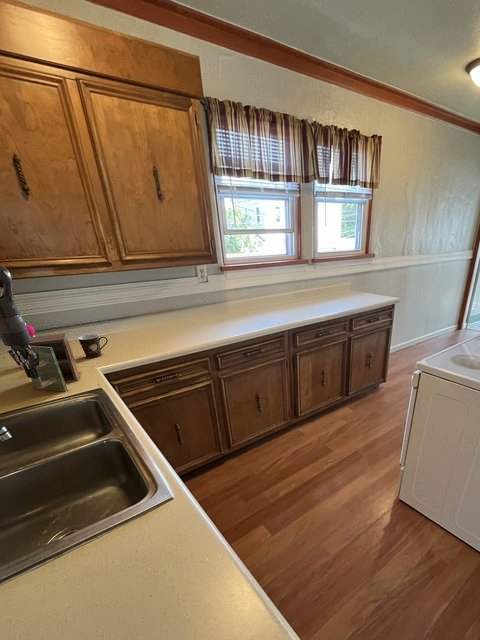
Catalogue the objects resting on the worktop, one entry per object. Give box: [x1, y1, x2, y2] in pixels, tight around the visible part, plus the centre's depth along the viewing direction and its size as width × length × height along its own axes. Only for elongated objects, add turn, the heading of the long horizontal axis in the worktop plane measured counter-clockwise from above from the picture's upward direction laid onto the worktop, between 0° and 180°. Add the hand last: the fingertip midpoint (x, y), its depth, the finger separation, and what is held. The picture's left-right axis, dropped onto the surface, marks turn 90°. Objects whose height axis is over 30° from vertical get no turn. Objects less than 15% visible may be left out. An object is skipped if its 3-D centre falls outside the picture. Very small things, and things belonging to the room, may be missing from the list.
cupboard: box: [29, 332, 80, 384], centre depth 132 cm, size 10×14×18 cm
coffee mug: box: [77, 334, 108, 359], centre depth 161 cm, size 12×9×10 cm
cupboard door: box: [30, 346, 69, 393], centre depth 120 cm, size 8×14×18 cm, turn 79°
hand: (33, 377), depth 116 cm, fingers closed on cupboard door, 2 cm apart
